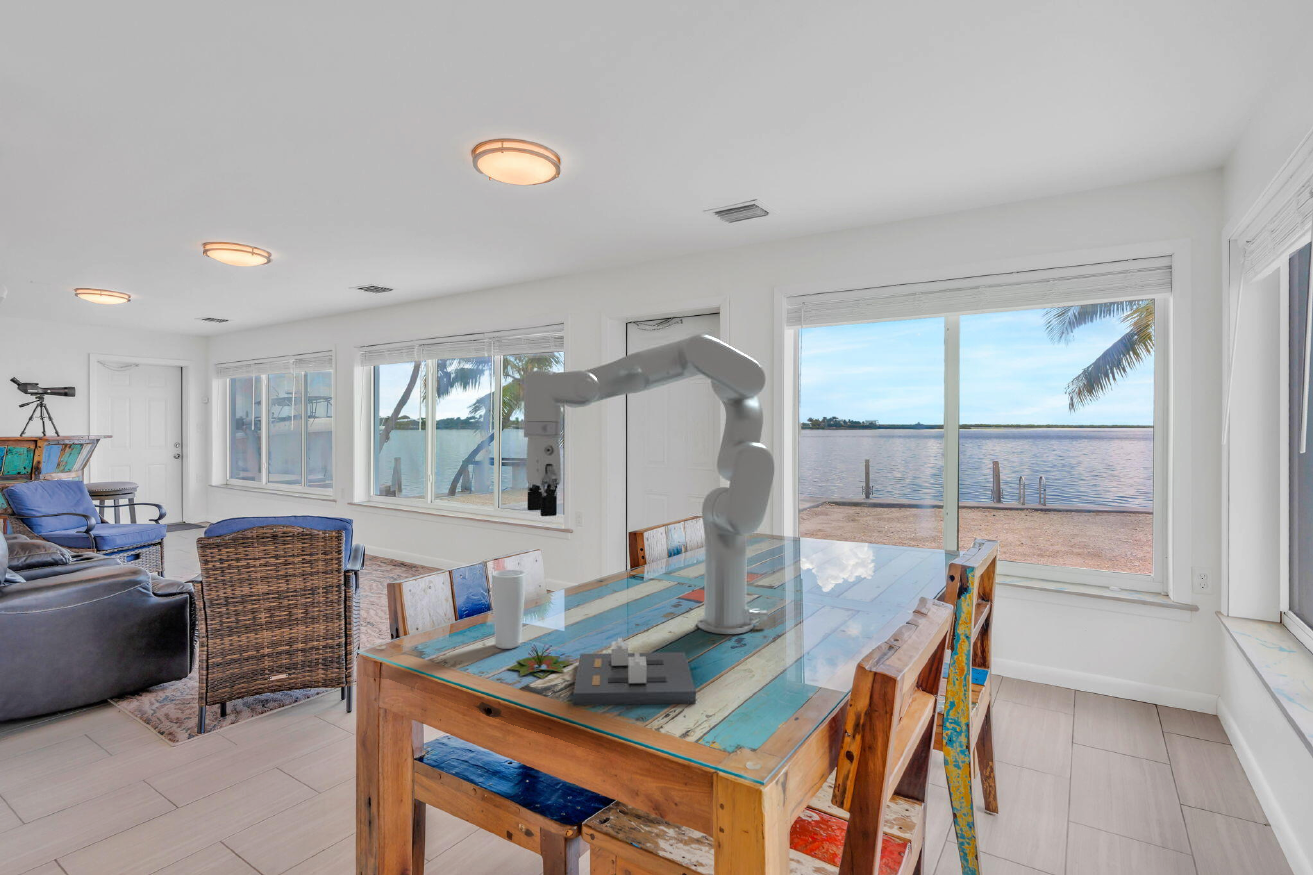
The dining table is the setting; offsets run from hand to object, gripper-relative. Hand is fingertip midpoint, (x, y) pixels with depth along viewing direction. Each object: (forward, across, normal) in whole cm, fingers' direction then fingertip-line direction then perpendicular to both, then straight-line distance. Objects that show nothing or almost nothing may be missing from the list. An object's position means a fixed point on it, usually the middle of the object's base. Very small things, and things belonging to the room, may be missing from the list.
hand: (541, 512), depth 132 cm
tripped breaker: (+25, -31, -8) cm, 40 cm away
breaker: (+25, -22, -8) cm, 34 cm away
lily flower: (+28, -12, +4) cm, 31 cm away
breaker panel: (+27, -27, -9) cm, 39 cm away
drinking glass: (+28, +2, +6) cm, 28 cm away
